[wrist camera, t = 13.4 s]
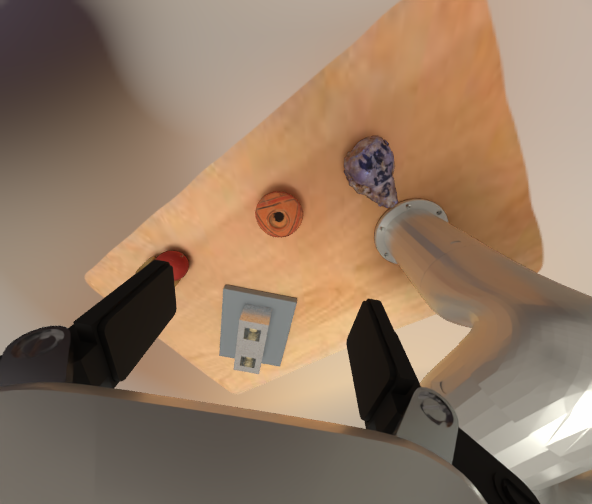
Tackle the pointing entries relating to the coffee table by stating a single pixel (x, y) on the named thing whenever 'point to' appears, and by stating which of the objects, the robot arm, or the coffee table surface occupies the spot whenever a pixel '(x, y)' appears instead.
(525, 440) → the robot arm
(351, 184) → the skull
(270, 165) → the coffee table surface
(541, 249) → the coffee table surface
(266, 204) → the pot
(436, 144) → the coffee table surface
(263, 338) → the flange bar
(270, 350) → the pin board
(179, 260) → the kendama
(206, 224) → the coffee table surface
